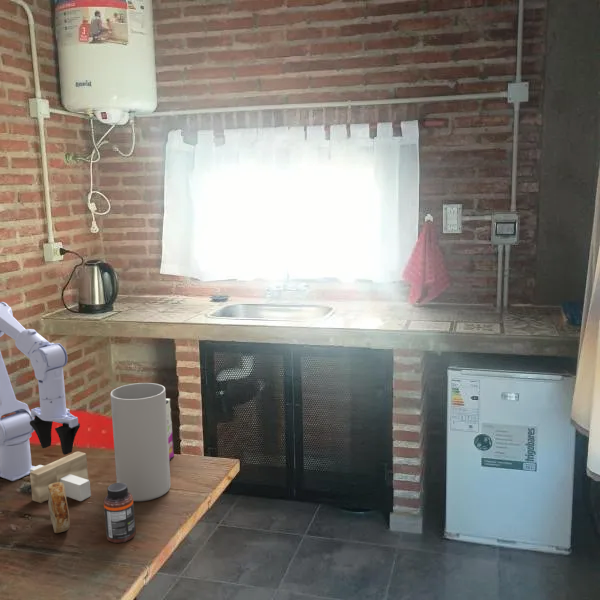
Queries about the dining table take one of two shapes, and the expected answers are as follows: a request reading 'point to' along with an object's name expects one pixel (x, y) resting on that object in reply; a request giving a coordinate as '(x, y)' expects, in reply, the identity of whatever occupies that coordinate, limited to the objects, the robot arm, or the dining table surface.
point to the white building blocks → (74, 486)
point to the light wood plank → (57, 474)
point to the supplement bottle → (119, 513)
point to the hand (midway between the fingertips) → (56, 449)
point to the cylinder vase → (141, 439)
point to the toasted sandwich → (58, 507)
